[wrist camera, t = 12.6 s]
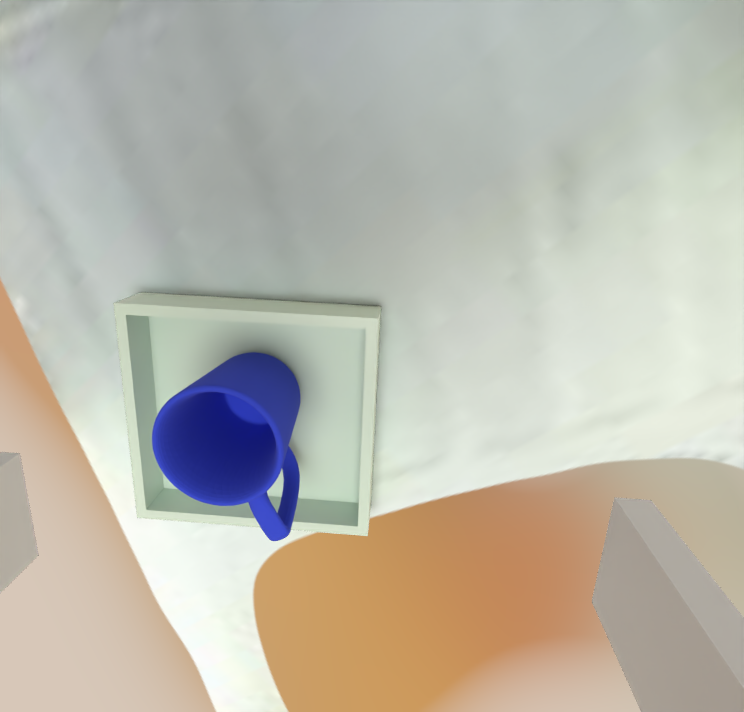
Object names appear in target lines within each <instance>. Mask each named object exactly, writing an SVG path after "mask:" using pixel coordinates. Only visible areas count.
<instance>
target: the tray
mask: <svg viewBox="0 0 744 712" xmlns="http://www.w3.org/2000/svg"><path fill="white" fill-rule="evenodd" d="M113 304H114V313H115V322H116V331H117V340H118V349H119V358H120V367H121V376H122V385H123V394H124V403H125V412H126V421H127V430H128V439H129V448H130V457H131V466H132V476H133V485H134V494H135V503H136V512H137V518H146V519H159V520H171V521H184V522H197V523H209V524H222V525H235V526H247V527H260V525H259V524H258V522H257V520H256V519H255V517H254V515H253V513H252V511H251V509H250V506H249V503H248V502H247V503H244V504H240V505H234V506H218V505H211V504H207V503H203V502H200V501H198V500H195V499H193V498H191V497H189V496H188V495H186V494H184V493H183V492H181V491H180V490H179V489H177V488H176V487H175V486H174V485H173V484H172V483H171V482H170V481H169V480H168V479H167V478H166V476H165V475H164V474H163V472H162V471H161V469H160V467H159V465H158V463H157V461H156V458H155V455H154V452H153V446H152V431H153V425H154V422H155V419H156V417H157V415H158V413H159V411H160V410H161V408H162V407H163V406H164V404H165V403H166V402H167V401H168V400H169V399H170V398H172V397H173V396H174V395H176V394H177V393H179V392H180V391H182V390H183V389H185V388H186V387H188V386H189V385H191V384H192V383H194V382H195V381H197V380H198V379H200V378H201V377H203V376H204V375H206V374H207V373H209V372H210V371H212V370H213V369H215V368H216V367H218V366H219V365H221V364H222V363H224V362H225V361H227V360H228V359H230V358H232V357H234V356H236V355H240V354H243V353H251V352H257V353H264V354H268V355H271V356H273V357H275V358H277V359H279V360H280V361H282V362H283V363H284V364H285V365H286V366H287V367H288V368H289V369H290V370H291V371H292V373H293V374H294V376H295V378H296V380H297V382H298V385H299V389H300V398H301V400H300V408H299V412H298V415H297V419H296V422H295V425H294V429H293V432H292V436H291V439H290V442H289V447H290V448H291V450H292V452H293V453H294V455H295V458H296V460H297V463H298V467H299V473H300V486H299V494H298V500H297V506H296V510H295V515H294V519H293V523H292V527H291V530H298V531H311V532H324V533H336V534H349V535H362V536H368V528H369V519H370V510H371V495H372V475H373V456H374V436H375V417H376V397H377V378H378V358H379V339H380V319H381V306H369V305H352V304H335V303H318V302H300V301H283V300H266V299H248V298H231V297H214V296H197V295H179V294H162V293H145V292H141V293H138V294H136V295H133V296H130V297H128V298H125V299H123V300H120V301H117V302H115V303H113ZM283 482H284V478H283V470H282V469H281V472H280V474H279V476H278V478H277V480H276V481H275V483H274V484H273V485H272V486H271V488H270V489H269V490H268V491H267V494H268V497H269V499H270V502H271V503H272V505H273V507H274V508H275V510H276V512H277V513H278V509H279V506H280V502H281V497H282V492H283ZM260 528H261V527H260Z"/></svg>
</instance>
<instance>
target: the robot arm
mask: <svg viewBox="0 0 744 712" xmlns="http://www.w3.org/2000/svg"><path fill="white" fill-rule="evenodd" d="M37 556H38V549H37V544H36V538H35V533H34V527H33V522H32V516H31V511H30V505H29V500H28V494H27V489H26V484H25V478H24V473H23V467H22V462H21V456H20V453H8V452H0V593H1V592H2V591H3V590H4V589H5V588H6V587H7V586H8V585H9V584H10V583H11V582H12V581H13V580H14V579H15V578H16V577H17V576H18V575H19V574H20V573H21V572H22V571H23V570H24V569H25V568H26V567H27V566H28V565H29V564H30V563H31V562H32V561H33V560H34V559H35V558H36V557H37ZM592 603H593V605H594V608H595V610H596V612H597V614H598V617H599V619H600V621H601V623H602V626H603V628H604V630H605V632H606V635H607V637H608V639H609V641H610V643H611V646H612V648H613V650H614V652H615V655H616V657H617V659H618V661H619V663H620V666H621V668H622V670H623V672H624V674H625V677H626V679H627V681H628V683H629V686H630V688H631V690H632V692H633V695H634V697H635V699H636V701H637V703H638V706H639V708H640V710H641V712H744V617H743V616H742V615H741V614H740V612H739V611H738V610H737V608H736V607H735V606H734V605H733V603H732V602H731V601H730V600H729V598H728V597H727V596H726V595H725V593H724V592H723V591H722V590H721V588H720V587H719V586H718V584H717V583H716V582H715V581H714V579H713V578H712V577H711V575H710V574H709V573H708V572H707V570H706V569H705V568H704V567H703V565H702V564H701V563H700V562H699V560H698V559H697V558H696V556H695V555H694V554H693V553H692V551H691V550H690V549H689V548H688V546H687V545H686V544H685V542H684V541H683V540H682V539H681V537H680V536H679V535H678V534H677V532H676V531H675V530H674V529H673V527H672V526H671V525H670V524H669V522H668V521H667V520H666V518H664V516H663V515H662V513H661V512H660V511H659V510H658V508H657V507H656V506H655V504H654V503H653V502H652V501H651V500H641V499H627V498H614V502H613V507H612V511H611V516H610V520H609V525H608V530H607V534H606V539H605V543H604V548H603V552H602V557H601V562H600V566H599V571H598V575H597V580H596V584H595V589H594V594H593V599H592Z"/></svg>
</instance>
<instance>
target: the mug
mask: <svg viewBox="0 0 744 712" xmlns="http://www.w3.org/2000/svg"><path fill="white" fill-rule="evenodd" d="M300 400H301V398H300V389H299V385H298V382H297V380H296V378H295V376H294V374H293V373H292V371H291V370H290V369H289V368H288V367H287V366H286V365H285V364H284V363H283V362H282V361H280V360H279V359H277V358H275V357H273V356H271V355H268V354H264V353H257V352H251V353H243V354H240V355H236V356H234V357H232V358H230V359H228V360H227V361H225V362H224V363H222V364H221V365H219V366H218V367H216V368H215V369H213V370H212V371H210V372H209V373H207V374H206V375H204V376H203V377H201V378H200V379H198V380H197V381H195V382H194V383H192V384H191V385H189V386H188V387H186V388H185V389H183V390H182V391H180V392H179V393H177V394H176V395H174V396H173V397H172V398H170V399H169V400H168V401H167V402H166V403H165V404H164V406H163V407H162V408H161V410H160V411H159V413H158V415H157V417H156V419H155V422H154V425H153V431H152V446H153V452H154V455H155V458H156V461H157V463H158V465H159V467H160V469H161V471H162V472H163V474H164V475H165V476H166V478H167V479H168V480H169V481H170V482H171V483H172V484H173V485H174V486H175V487H176V488H177V489H179V490H180V491H181V492H183V493H184V494H186V495H188V496H189V497H191V498H193V499H195V500H198V501H200V502H203V503H207V504H211V505H218V506H234V505H240V504H244V503H247V502H248V503H249V506H250V509H251V511H252V513H253V515H254V517H255V519H256V520H257V522H258V524H259V525H260V527H261V529H262V530H263V531H264V533H265V534H266V536H267V537H268V538H269V539H270V540H271V541H278V540H281V539H283V538H285V537H287V536H288V535H289V533H290V530H291V527H292V523H293V519H294V515H295V510H296V506H297V500H298V494H299V486H300V473H299V467H298V463H297V460H296V458H295V455H294V453H293V452H292V450H291V448H290V447H289V442H290V439H291V436H292V432H293V429H294V425H295V422H296V419H297V415H298V412H299V408H300ZM281 469H282V470H283V478H284V482H283V492H282V497H281V502H280V506H279V509H278V513H277V512H276V510H275V508H274V507H273V505H272V503H271V502H270V499H269V497H268V494H267V491H268V490H269V489H270V488H271V486H272V485H273V484H274V483H275V481H276V480H277V478H278V476H279V474H280V472H281Z"/></svg>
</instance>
